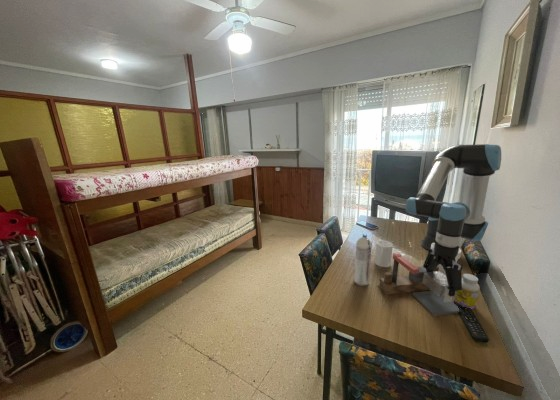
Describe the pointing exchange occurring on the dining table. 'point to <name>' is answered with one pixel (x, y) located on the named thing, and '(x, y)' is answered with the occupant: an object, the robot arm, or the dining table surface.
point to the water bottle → (362, 261)
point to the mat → (435, 303)
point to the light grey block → (436, 282)
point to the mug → (383, 253)
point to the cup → (441, 265)
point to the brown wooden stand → (403, 281)
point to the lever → (405, 263)
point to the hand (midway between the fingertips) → (437, 293)
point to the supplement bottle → (468, 291)
